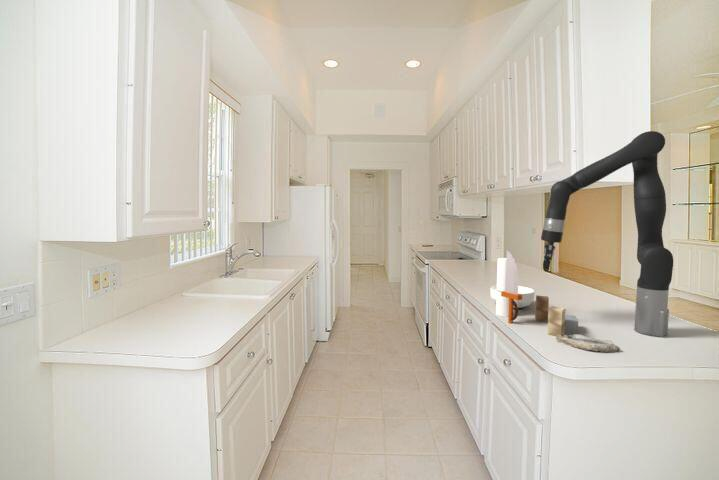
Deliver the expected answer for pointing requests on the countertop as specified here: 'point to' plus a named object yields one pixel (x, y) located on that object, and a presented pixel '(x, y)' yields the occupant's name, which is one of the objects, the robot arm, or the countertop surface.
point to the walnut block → (542, 308)
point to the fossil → (587, 343)
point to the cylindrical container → (501, 289)
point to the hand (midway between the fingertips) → (545, 268)
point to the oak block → (556, 321)
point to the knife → (511, 286)
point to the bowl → (524, 291)
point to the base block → (571, 324)
